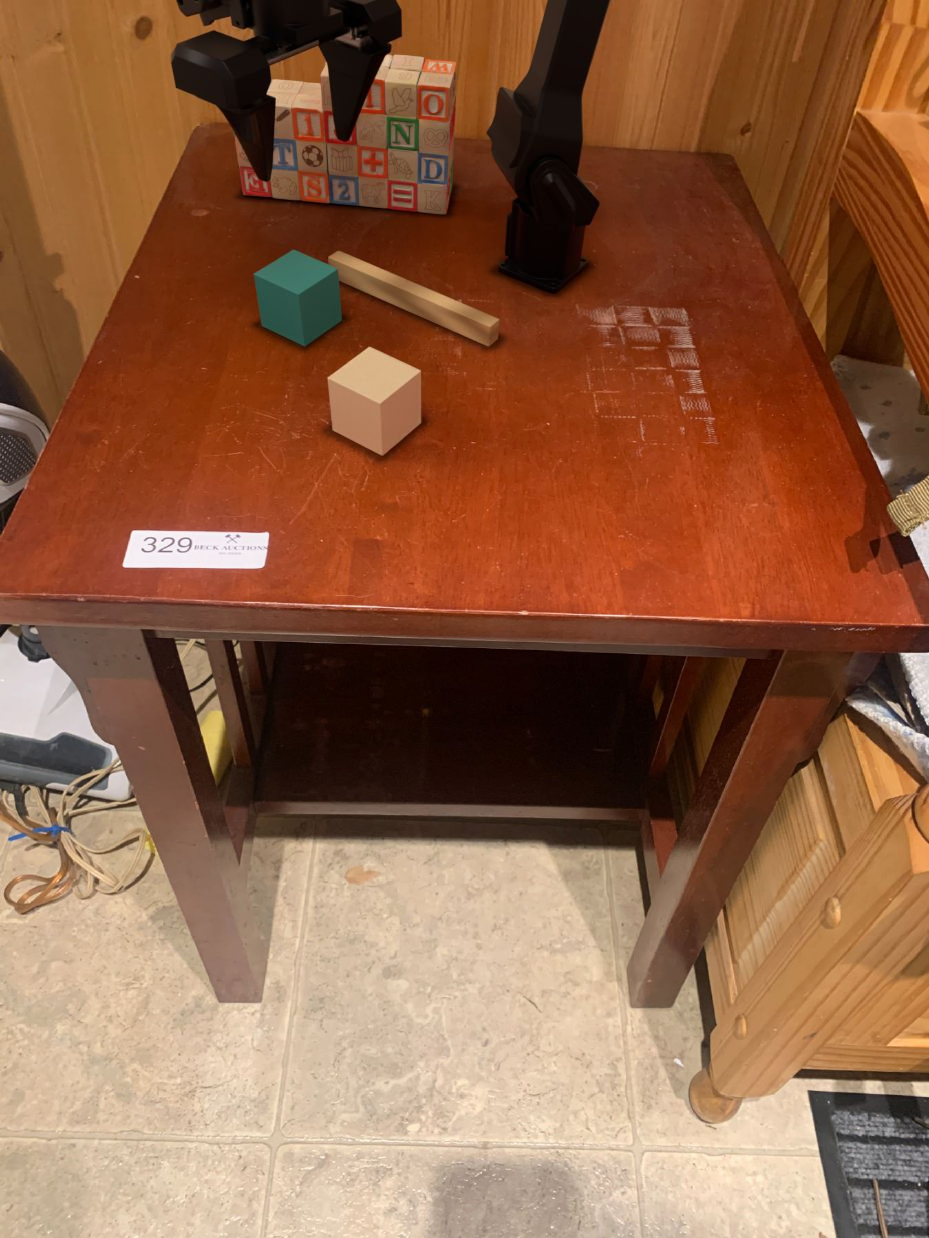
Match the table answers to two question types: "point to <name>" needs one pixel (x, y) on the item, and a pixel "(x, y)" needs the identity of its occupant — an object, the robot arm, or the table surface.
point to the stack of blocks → (365, 141)
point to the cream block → (375, 400)
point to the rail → (416, 299)
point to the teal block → (298, 297)
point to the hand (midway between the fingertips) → (304, 159)
